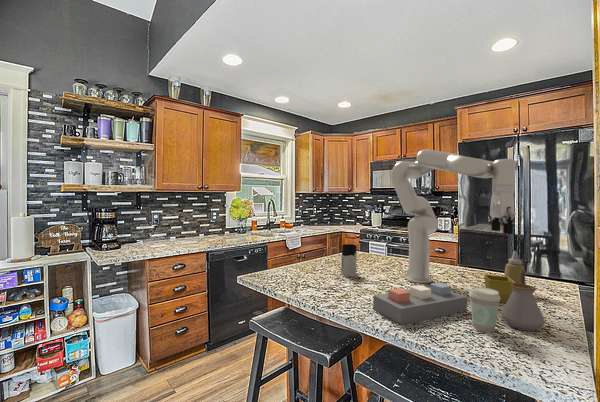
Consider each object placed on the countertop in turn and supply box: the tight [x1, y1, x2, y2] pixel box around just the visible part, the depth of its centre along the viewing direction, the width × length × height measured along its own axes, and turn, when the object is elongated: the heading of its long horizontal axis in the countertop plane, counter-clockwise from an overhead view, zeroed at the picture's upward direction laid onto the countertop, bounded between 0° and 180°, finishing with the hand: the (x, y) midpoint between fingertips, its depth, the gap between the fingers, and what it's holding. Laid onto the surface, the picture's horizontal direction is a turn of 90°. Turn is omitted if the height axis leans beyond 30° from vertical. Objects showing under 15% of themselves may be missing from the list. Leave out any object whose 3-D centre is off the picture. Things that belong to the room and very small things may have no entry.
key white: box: [409, 284, 431, 300], centre depth 108 cm, size 5×5×5 cm
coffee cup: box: [468, 286, 501, 333], centre depth 94 cm, size 8×9×12 cm
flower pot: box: [483, 274, 515, 303], centre depth 120 cm, size 9×9×9 cm
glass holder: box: [329, 243, 358, 277], centre depth 157 cm, size 9×14×15 cm, turn 89°
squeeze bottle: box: [503, 250, 527, 285], centre depth 131 cm, size 8×8×18 cm
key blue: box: [429, 282, 452, 296], centre depth 112 cm, size 5×5×5 cm
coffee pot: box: [500, 270, 546, 332], centre depth 100 cm, size 21×12×15 cm, turn 143°
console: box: [372, 286, 468, 325], centre depth 108 cm, size 14×31×5 cm, turn 114°
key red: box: [388, 287, 410, 303], centre depth 104 cm, size 5×5×5 cm
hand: (501, 232), depth 121 cm, fingers open, 9 cm apart
